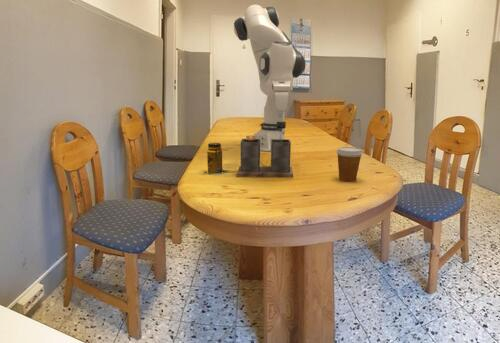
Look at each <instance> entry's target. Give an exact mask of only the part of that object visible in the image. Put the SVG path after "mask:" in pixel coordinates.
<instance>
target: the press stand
mask: <svg viewBox="0 0 500 343" xmlns="http://www.w3.org/2000/svg"><path fill="white" fill-rule="evenodd" d="M291 142H292V141H291V139H287V138H286V139H282V142H279V139H271V151H270V166H261V150H260V139H255V142H246V138H242V139H241V141H240V165H239V167H238V169H237V172H236V173H237V174H236V175H237V176H236V177H237V178H277V179H278V178H281V179H282V178H286V179H287V178H288V179H289V178H290V179H292V178H294V170H293V167H292V166H291V150H292V149H291V147H292V146H291V145H292V144H291Z"/></svg>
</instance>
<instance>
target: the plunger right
mask: <svg viewBox="0 0 500 343" xmlns="http://www.w3.org/2000/svg"><path fill="white" fill-rule="evenodd" d="M286 126H287V121H285V120H284V121H282V122H278V121H277V128H280V131H279V142H282V133H283V128H285V129H286V128H287V127H286Z"/></svg>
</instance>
